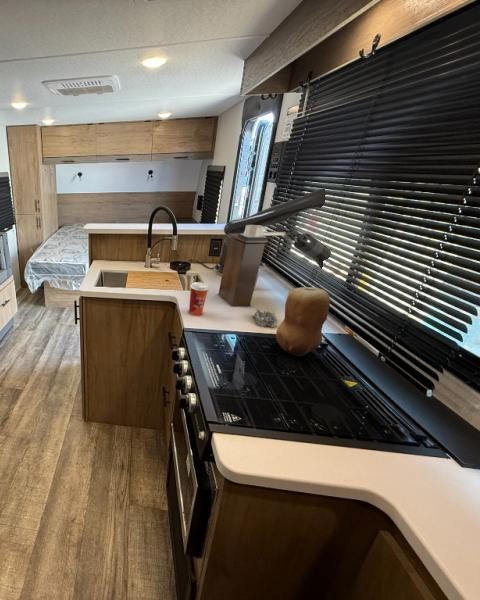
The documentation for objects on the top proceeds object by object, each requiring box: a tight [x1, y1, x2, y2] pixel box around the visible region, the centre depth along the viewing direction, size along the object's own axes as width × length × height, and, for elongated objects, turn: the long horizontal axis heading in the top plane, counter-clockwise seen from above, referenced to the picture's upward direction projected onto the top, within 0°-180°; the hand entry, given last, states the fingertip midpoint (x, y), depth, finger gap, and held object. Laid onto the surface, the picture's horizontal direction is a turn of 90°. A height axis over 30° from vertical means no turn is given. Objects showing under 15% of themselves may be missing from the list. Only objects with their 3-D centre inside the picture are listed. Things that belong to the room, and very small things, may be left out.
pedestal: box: [217, 233, 269, 307], centre depth 148 cm, size 16×10×32 cm, turn 2°
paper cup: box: [188, 281, 210, 317], centre depth 138 cm, size 8×8×14 cm
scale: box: [238, 234, 269, 241], centre depth 137 cm, size 8×10×2 cm
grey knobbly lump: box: [253, 307, 279, 328], centre depth 132 cm, size 11×8×4 cm
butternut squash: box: [275, 286, 331, 357], centre depth 106 cm, size 14×13×25 cm
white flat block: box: [244, 225, 285, 237], centre depth 137 cm, size 7×18×4 cm, turn 92°
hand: (283, 228), depth 136 cm, fingers open, 8 cm apart
